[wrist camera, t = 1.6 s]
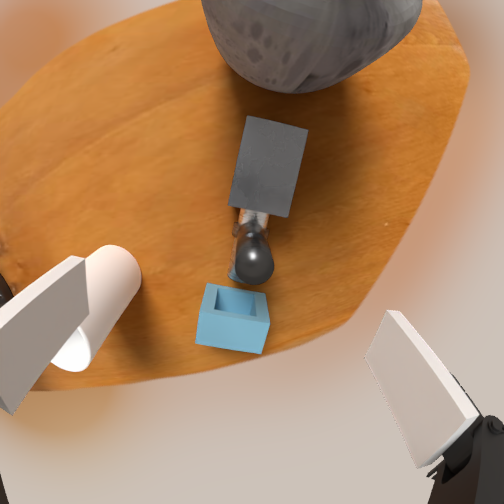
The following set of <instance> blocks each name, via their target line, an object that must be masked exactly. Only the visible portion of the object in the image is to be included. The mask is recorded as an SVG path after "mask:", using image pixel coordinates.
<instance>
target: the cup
mask: <svg viewBox="0 0 504 504" xmlns="http://www.w3.org/2000/svg"><path fill="white" fill-rule="evenodd" d="M85 265H86V282H87V294H88V304H89V313H90V314H89V315H88V316H87V317H86V319H85V320H84V321H83V322H82V323H81V324H80V326H79V327H78V328H77V329H76V330H75V332H74V333H73V334H72V335H71V336H70V338H69V339H68V340H67V341H66V343H65V344H64V345H63V346H62V348H61V349H60V350H59V351H58V353H57V354H56V355H55V357H54V358H53V359H52V360H51V362H52V363H53V364H54V365H56V366H58V367H60V368H62V369H64V370H67V371H72V372H79V371H82V370H84V369H86V368H87V367H88V365H89V364H90V362H91V361H92V359H93V358H94V356H95V354H96V353H97V351H98V350H99V348H100V347H101V345H102V343H103V342H104V340H105V339H106V337H107V336H108V334H109V333H110V331H111V330H112V328H113V326H114V325H115V323H116V322H117V320H118V319H119V317H120V316H121V315H122V313H123V312H124V310H125V309H126V307H127V306H128V304H129V303H130V301H131V300H132V299H133V297H134V296H135V294H136V293H137V291H138V290H139V288H140V285H141V271H140V267H139V265H138V263H137V261H136V260H135V258H134V257H133V256H132V255H131V254H130V253H129V252H128V251H127V250H125V249H124V248H122V247H119V246H116V245H106V246H103V247H101V248H99V249H98V250H96V251H95V252H94V253H92V254H91V255H90V256H88V257H87V258H86V259H85Z"/></svg>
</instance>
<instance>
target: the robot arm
mask: <svg viewBox="0 0 504 504" xmlns="http://www.w3.org/2000/svg"><path fill="white" fill-rule="evenodd" d="M89 314H90V313H89V304H88V294H87V282H86V265H85V258H81V257H76V256H72V255H71V256H70V257H68V258H67V259H65V260H64V261H62V262H61V263H59V264H58V265H57V266H55V267H54V268H52V269H51V270H50V271H48V272H47V273H45V274H44V275H43V276H41V277H40V278H38V279H37V280H36V281H34V282H33V283H32V284H30V285H29V286H28V287H26V288H25V289H24V290H23V291H21V292H20V293H19V294H17V295H16V296H15V297H14V298H13V296H12V294H11V291H10V289H9V287H8V285H7V283H6V282H5V280H4V279H3V277H2V276H1V274H0V408H2V409H3V410H5V411H6V412H8V413H9V414H11V415H13V414H14V412H15V411H16V409H17V408H18V406H19V405H20V403H21V402H22V401H23V399H24V398H25V396H26V395H27V393H28V392H29V390H30V389H31V388H32V386H33V385H34V383H35V382H36V381H37V379H38V378H39V376H40V375H41V374H42V372H43V371H44V370H45V368H46V367H47V366H48V364H49V363H50V362H51V360H52V359H53V358H54V357H55V355H56V354H57V353H58V351H59V350H60V349H61V348H62V346H63V345H64V344H65V343H66V341H67V340H68V339H69V338H70V336H71V335H72V334H73V333H74V332H75V330H76V329H77V328H78V327H79V326H80V324H81V323H82V322H83V321H84V320H85V319H86V317H87V316H88V315H89ZM364 358H365V360H366V362H367V364H368V366H369V368H370V370H371V372H372V374H373V376H374V378H375V380H376V381H377V384H378V386H379V388H380V390H381V391H382V394H383V396H384V398H385V400H386V402H387V404H388V406H389V408H390V410H391V413H392V415H393V417H394V419H395V421H396V423H397V425H398V427H399V430H400V432H401V434H402V436H403V438H404V441H405V443H406V445H407V447H408V450H409V452H410V454H411V456H412V459H413V461H414V463H415V466H416V468H417V469H418V468H421V467H424V466H427V465H430V464H432V463H433V462H434V461H435V460H437V459H438V458H439V457H440V456H441V455H443V457H444V460H443V461H442V462H441V463H439V464H438V465H437V466H436V467H435V468H434V469H432V470H431V471H430V472H429V473H428V475H427V477H430V476H431V475H432V474H433V473H435V472H436V471H437V474H436V475H434V476H433V477H432V479H434V480H435V482H434V485H433V489H432V492H431V495H430V498H429V501H428V504H504V425H503V423H502V422H501V421H500V420H499V419H498V418H496V417H495V416H491V415H488V416H486V417H485V418H484V417H483V416H482V415H481V413H480V411H479V410H478V409H477V407H476V406H475V404H474V403H473V401H472V400H471V399H470V397H469V396H468V394H467V393H465V390H464V389H463V387H462V386H460V384H459V382H458V381H457V379H456V378H455V377H454V376H453V375H452V374H451V373H450V372H449V371H448V370H447V369H446V367H445V366H444V365H443V363H442V362H441V361H440V360H439V358H438V357H437V356H436V354H435V353H434V352H433V351H432V349H431V348H430V347H429V346H428V344H427V343H426V342H425V341H424V340H423V338H422V337H421V336H420V335H419V334H418V332H416V330H415V329H414V328H413V326H412V325H411V324H410V323H409V322H408V320H407V319H406V318H405V317H404V316H403V314H402V313H401V312H400V311H394V310H386V313H385V315H384V317H383V319H382V322H381V324H380V326H379V328H378V330H377V333H376V335H375V337H374V339H373V341H372V343H371V345H370V347H369V349H368V351H367V353H366V355H365V357H364ZM0 504H9V502H8V499H7V496H6V493H5V489H4V486H3V482H2V478H1V474H0Z"/></svg>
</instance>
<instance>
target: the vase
mask: <svg viewBox="0 0 504 504" xmlns="http://www.w3.org/2000/svg"><path fill="white" fill-rule="evenodd" d="M201 1H202V6H203V10H204V13H205V17H206V20H207V24H208V27H209V30H210V32H211V35H212V37H213V39H214V42H215V44H216V46H217V49H218V50H219V52H220V54H221V55H222V57H223V58H224V60H225V61H226V62H227V64H228V65H229V66H230V67H231V68H232V69H233V70H234V71H235V72H236V73H237V74H239V75H240V76H241V77H243V78H244V79H246V80H247V81H249V82H251V83H253V84H255V85H257V86H259V87H262V88H265V89H267V90H271V91H275V92H281V93H293V94H297V93H307V92H314V91H317V90H321V89H324V88H327V87H329V86H332V85H334V84H337V83H339V82H340V81H342V80H344V79H346V78H348V77H350V76H352V75H354V74H355V73H357V72H358V71H360V70H362V69H363V68H365V67H366V66H368V65H369V64H371V63H373V62H374V61H376V60H377V59H378V58H380V57H381V56H383V55H384V54H386V53H387V52H388V51H389V50H391V49H392V48H393V47H394V46H396V45H397V44H398V43H399V42H400V41H401V40H402V39H403V38H404V37H405V36H406V35H407V34H408V33H409V32H410V31H411V30H412V28H413V27H414V25H415V24H416V22H417V20H418V17H419V15H420V12H421V9H422V0H201Z"/></svg>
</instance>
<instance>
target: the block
mask: <svg viewBox="0 0 504 504" xmlns="http://www.w3.org/2000/svg"><path fill="white" fill-rule="evenodd" d="M307 134H308V130H306V129H303V128H299V127H295V126H291V125H288V124H284V123H280V122H275V121H271V120H267V119H262V118H258V117H253V116H248V115H247V119H246V123H245V127H244V132H243V136H242V141H241V145H240V150H239V154H238V159H237V163H236V168H235V173H234V177H233V182H232V187H231V192H230V197H229V202H228V206H233V207H238V208H243V209H248V210H253V211H258V212H262V213H267V214H272V215H276V216H281V217H286V218H288V215H289V211H290V206H291V202H292V198H293V194H294V190H295V186H296V182H297V178H298V173H299V169H300V165H301V161H302V156H303V152H304V148H305V143H306V139H307Z"/></svg>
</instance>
